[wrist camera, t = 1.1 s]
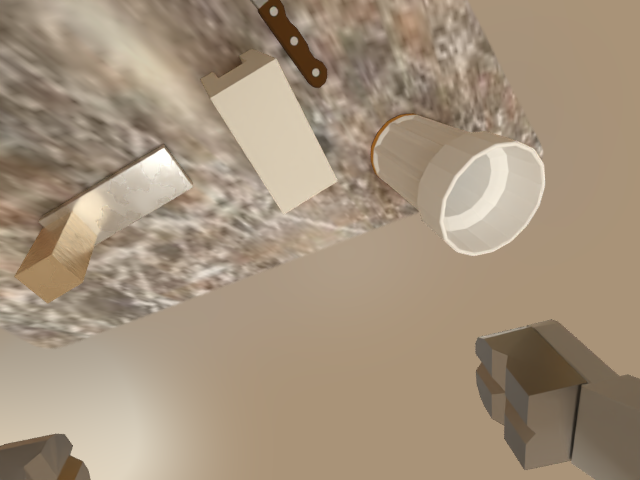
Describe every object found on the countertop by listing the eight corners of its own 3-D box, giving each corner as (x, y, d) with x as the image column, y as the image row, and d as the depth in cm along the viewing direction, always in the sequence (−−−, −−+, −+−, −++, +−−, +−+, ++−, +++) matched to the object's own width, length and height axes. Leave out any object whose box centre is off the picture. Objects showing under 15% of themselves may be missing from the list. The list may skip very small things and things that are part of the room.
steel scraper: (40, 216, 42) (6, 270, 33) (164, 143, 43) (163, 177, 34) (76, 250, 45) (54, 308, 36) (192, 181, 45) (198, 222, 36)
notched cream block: (200, 79, 41) (209, 98, 32) (251, 48, 41) (276, 58, 32) (264, 181, 48) (287, 221, 39) (308, 155, 48) (341, 188, 39)
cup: (440, 92, 50) (552, 125, 35) (443, 177, 56) (540, 234, 41) (355, 118, 48) (437, 164, 33) (368, 203, 54) (442, 272, 39)
